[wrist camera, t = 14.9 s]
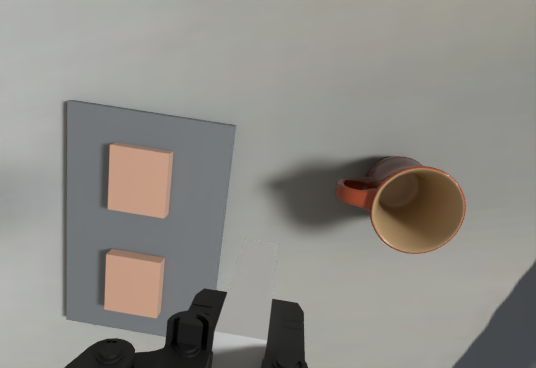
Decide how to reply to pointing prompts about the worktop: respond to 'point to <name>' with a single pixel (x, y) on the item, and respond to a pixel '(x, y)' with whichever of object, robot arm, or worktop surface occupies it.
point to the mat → (141, 226)
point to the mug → (407, 203)
